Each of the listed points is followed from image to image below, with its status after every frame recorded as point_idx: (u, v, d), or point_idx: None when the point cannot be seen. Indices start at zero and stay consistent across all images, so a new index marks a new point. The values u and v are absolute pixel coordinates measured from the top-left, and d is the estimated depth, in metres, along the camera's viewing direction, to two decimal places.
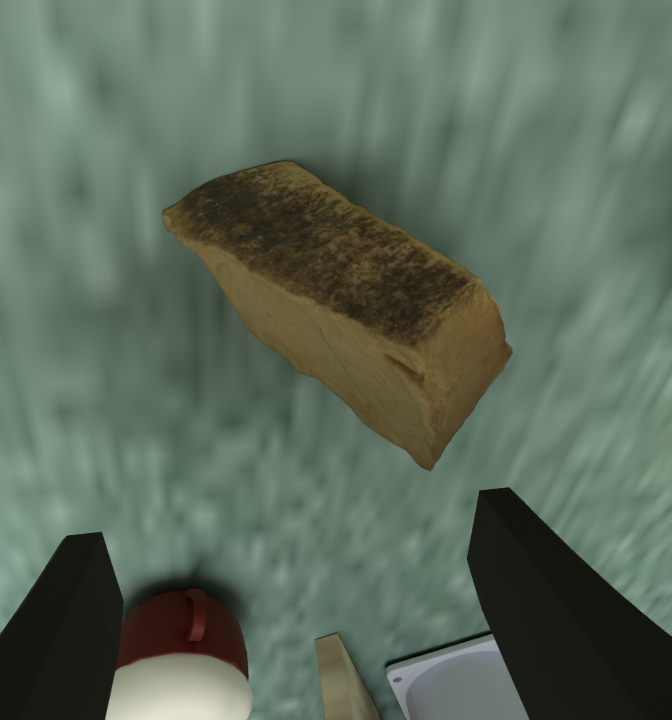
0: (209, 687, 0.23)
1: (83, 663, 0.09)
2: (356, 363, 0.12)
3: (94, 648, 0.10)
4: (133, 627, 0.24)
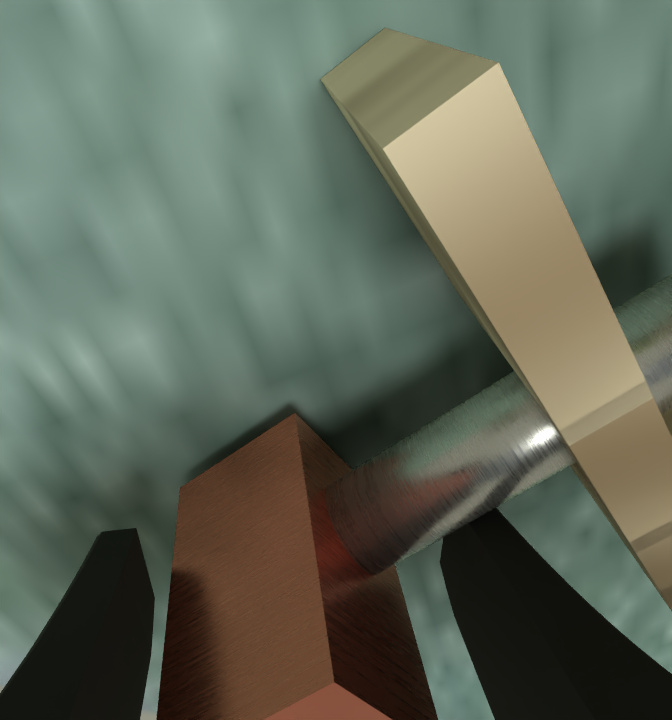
0: None
1: (122, 658, 0.09)
2: None
3: (131, 643, 0.10)
4: None
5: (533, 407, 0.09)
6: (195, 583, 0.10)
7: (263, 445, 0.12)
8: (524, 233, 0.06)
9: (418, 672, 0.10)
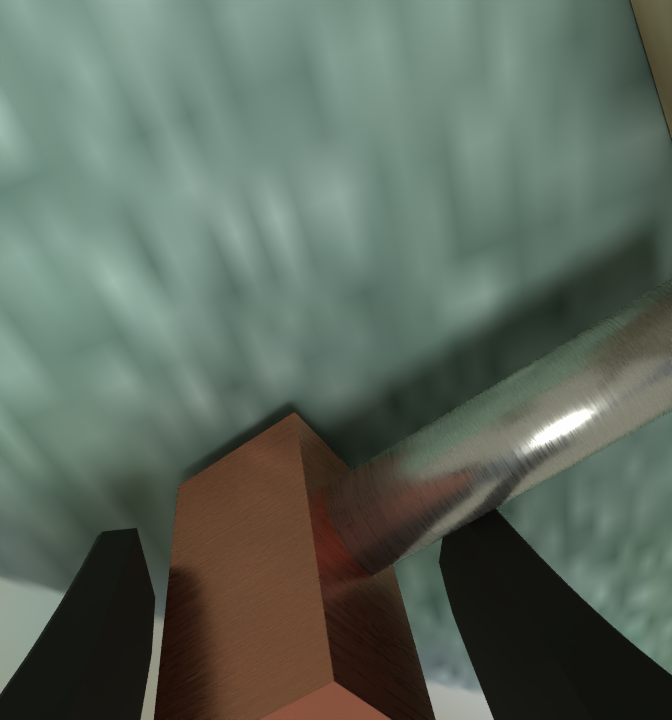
0: None
1: (123, 658, 0.09)
2: None
3: (131, 643, 0.10)
4: None
5: (534, 408, 0.09)
6: (193, 581, 0.10)
7: (262, 444, 0.12)
8: None
9: (417, 673, 0.10)
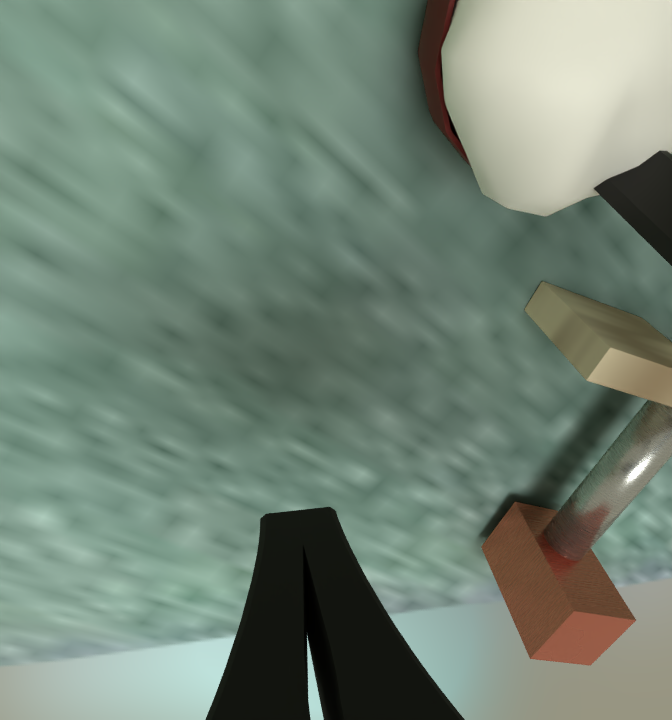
0: None
1: (305, 633, 0.10)
2: None
3: (305, 620, 0.10)
4: (426, 23, 0.14)
5: (609, 482, 0.22)
6: (510, 588, 0.25)
7: (508, 520, 0.26)
8: (641, 373, 0.18)
9: (614, 592, 0.23)
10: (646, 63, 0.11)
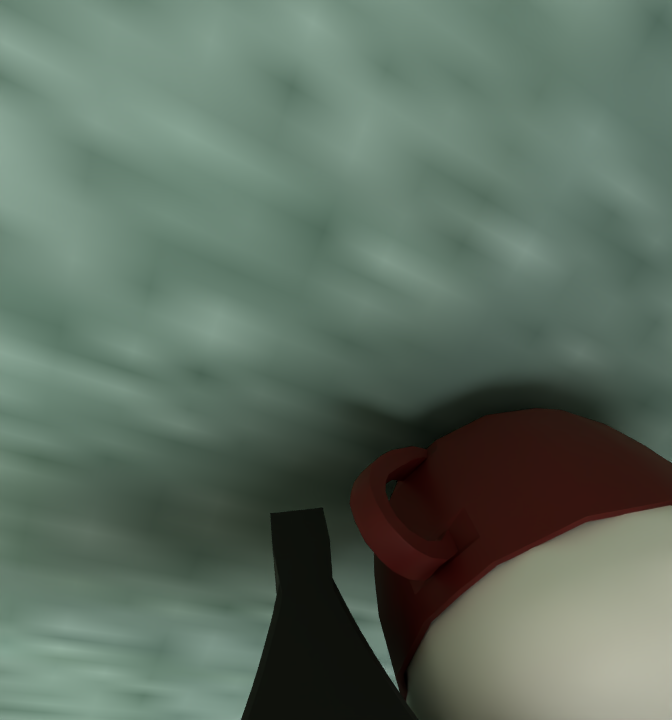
0: (554, 643, 0.07)
1: None
2: None
3: None
4: None
5: None
6: None
7: None
8: None
9: None
10: None
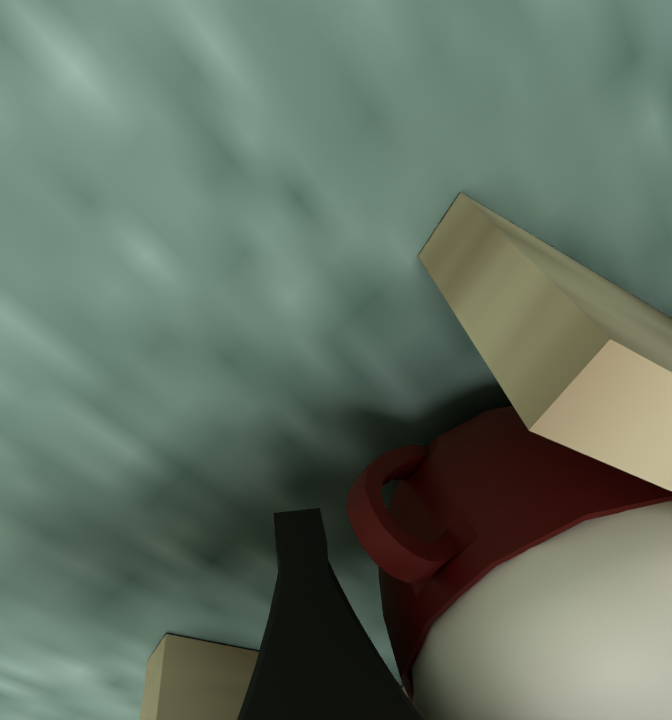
0: (553, 646, 0.07)
1: None
2: None
3: None
4: None
5: None
6: None
7: None
8: None
9: None
10: None
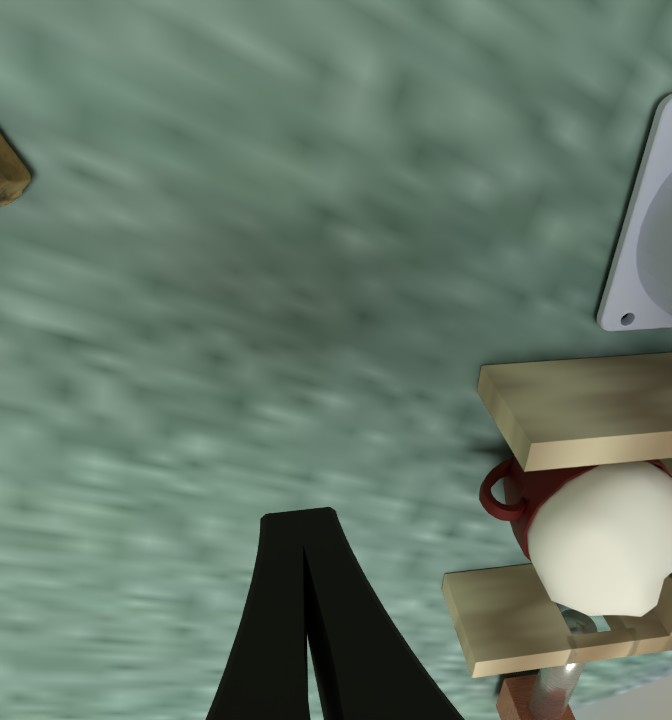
0: (559, 529, 0.20)
1: (305, 633, 0.10)
2: None
3: (305, 620, 0.10)
4: None
5: (549, 682, 0.30)
6: None
7: (504, 692, 0.34)
8: (509, 663, 0.26)
9: None
10: (643, 579, 0.20)
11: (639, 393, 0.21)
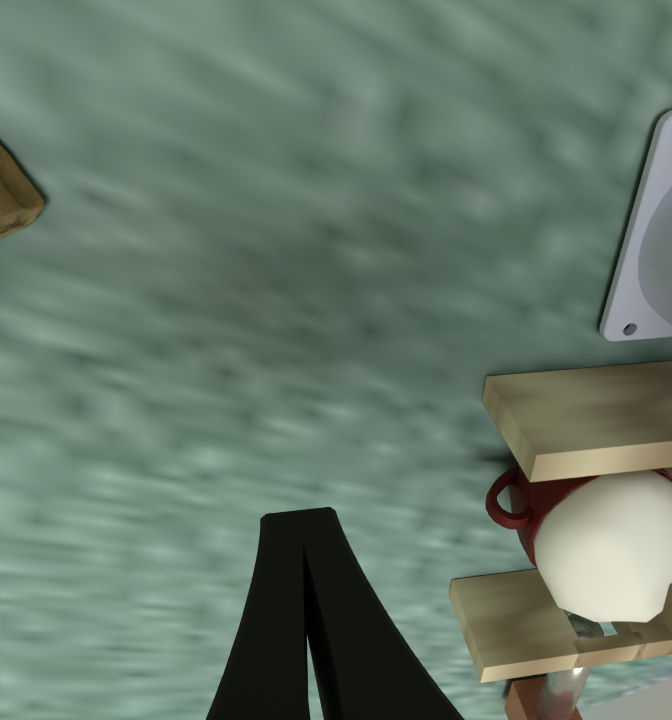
0: (565, 538, 0.21)
1: (305, 633, 0.10)
2: None
3: (305, 620, 0.10)
4: None
5: (557, 686, 0.30)
6: None
7: (512, 695, 0.34)
8: (517, 668, 0.26)
9: None
10: (648, 586, 0.20)
11: (642, 403, 0.21)
